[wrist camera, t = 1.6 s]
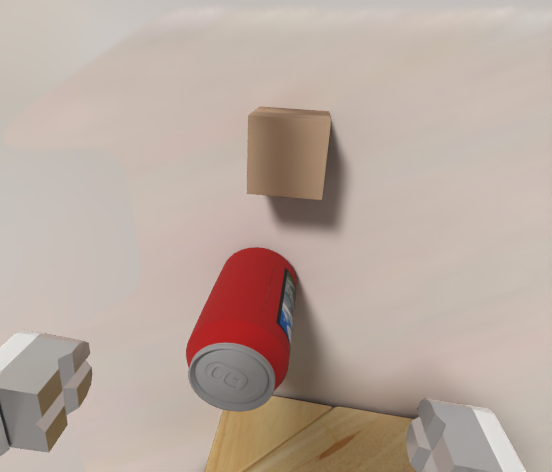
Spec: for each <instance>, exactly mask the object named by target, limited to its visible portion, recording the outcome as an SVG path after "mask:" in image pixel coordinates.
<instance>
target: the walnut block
mask: <svg viewBox="0 0 552 472" xmlns="http://www.w3.org/2000/svg"><path fill="white" fill-rule="evenodd" d="M330 126H331V119H330V114H329V111H316V110H301V109H286V108H271V107H259V108H258V109H256V110H255V111H254V112H252V113H251V114H250V115H248V159H247V194H256V195H268V196H280V197H291V198H303V199H315V200H322V195H323V187H324V178H325V169H326V161H327V152H328V144H329V135H330Z"/></svg>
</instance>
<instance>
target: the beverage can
mask: <svg viewBox="0 0 552 472" xmlns="http://www.w3.org/2000/svg"><path fill="white" fill-rule="evenodd" d="M295 294H296V276H295V273H294V270H293V268H292V267H291V265H290V264H289V262H288V261H287V260H286V259H285V258H284V257H282V256H281V255H279V254H278V253H276V252H274V251H271V250H269V249H265V248H247V249H243V250H241V251H238V252H237V253H235V254H233V255H232V256H231V257H230V258H229V259H228V260H227V261H226V263H225V265H224V267H223V269H222V271H221V273H220V275H219V277H218V279H217V281H216V283H215V285H214V287H213V289H212V291H211V293H210V295H209V298H208V300H207V302H206V304H205V306H204V308H203V310H202V313H201V315H200V317H199V319H198V321H197V323H196V326H195V328H194V330H193V332H192V334H191V337H190V339H189V341H188V344H187V349H186V357H187V363H188V367H189V371H188V377H189V382H190V384H191V387H192V388H193V390H194V391H195V393H196V394H197V395H198V396H199V397H200V398H201V399H203V400H204V401H205V402H207V403H209V404H210V405H212V406H215V407H217V408H220V409H223V410H227V411H235V412H242V411H250V410H253V409H256V408H259V407H261V406H262V405H264V404H265V403H266V402H267V401H268V400H269V399H270V398H271V396H272V394H273V392H274V391H275V390H276V389H277V387H278V386H279V385H280V384H281V383H282V381H283V380H284V378H285V376H286V374H287V371H288V364H289V355H290V346H291V337H292V327H293V317H294V306H295Z"/></svg>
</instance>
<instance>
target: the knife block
mask: <svg viewBox="0 0 552 472" xmlns="http://www.w3.org/2000/svg"><path fill="white" fill-rule="evenodd" d="M412 420H414V419H410V418H404V417H398V416H392V415H387V414H381V413H375V412H369V411H364V410H358V409H352V408H345V407H335V408H332V407H331V406H327V405H321V404H316V403H310V402H305V401H299V400H294V399H288V398H283V397H277V396H271V398H270V399H269V400H268V401H267V402H266V403H265V404H264V405H262V406H261V407H259V408H256V409H253V410H250V411H242V412H235V411H227V410H223V412H222V415H221V419H220V422H219V425H218V428H217V432H216V435H215V438H214V441H213V445H212V448H211V451H210V455H209V458H208V461H207V465H206V468H205V471H204V472H417V471H416V470H415V469H414V468H413V467H412V465H411V464H410V461H409V457H408V453H407V445H406V439H407V430H408V428H409V425H410V423H411V421H412Z"/></svg>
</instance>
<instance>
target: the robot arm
mask: <svg viewBox="0 0 552 472" xmlns="http://www.w3.org/2000/svg"><path fill="white" fill-rule="evenodd" d="M89 354H90V349H89V343H88V342H85V341H81V340H76V339H71V338H66V337H61V336H56V335H51V334H46V333H44V334H43V333H38V332H33V331H28V330H22V331H20V332H17V333H15V334H14V335H13V336H12V337H11V338H10V339H9V340H8V341H7V342H5V343H4V344H3V345H2V346H1V347H0V456H1V455H3V454H4V453H5V452H7V451H8V450H9V449H10V448H9V447H14V448H20V449H28V450H35V451H42V452H49V451H50V450H51V449H52V447H53V446H54V444H55V443H56V441H57V439H58V438H59V437H60V435H61V434H62V432H63V431H64V429H65V428H66V426H67V414H69V413H71V412H72V411H74V410H76V409H77V408H79V407H80V405H81V404H82V402H83V400H84V399H85V397H86V395H87V393H88V390H89V388H90V385H91V380H92V367H91V366H90V365H89V364H88V362H87V361H86V358H87V357H88V356H89ZM417 410H418V413H419V417H418V418H416V419H414V420H412V421H411V423H410V425H409V428H408V430H407V439H406V445H407V453H408V457H409V461H410V464H411V465H412V467H413V468H414V469H415V470H416V471H417V472H526V470H525V468H524V466H523V465H522V463H521V461H520V459H519V457H518V456H517V454H516V452H515V450H514V448H513V447H512V445H511V443H510V441H509V439H508V438H507V436H506V434H505V432H504V430H503V429H502V427H501V425H500V423H499V421H498V419H497V418H496V416H495V414H494V413H493V412H492V411H491V410H490V409H489V408H483V407H477V406H471V405H464V404H459V403H453V402H446V401H440V400H433V399H427V398H425V399H423V400H422V401H421V402H420V404H419V406H418V408H417Z"/></svg>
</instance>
